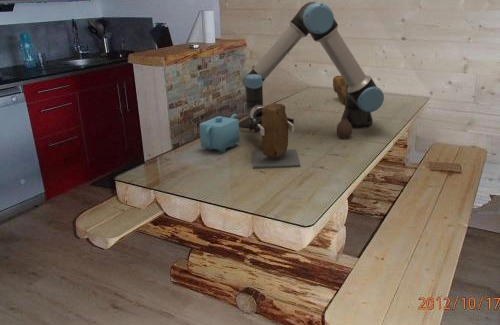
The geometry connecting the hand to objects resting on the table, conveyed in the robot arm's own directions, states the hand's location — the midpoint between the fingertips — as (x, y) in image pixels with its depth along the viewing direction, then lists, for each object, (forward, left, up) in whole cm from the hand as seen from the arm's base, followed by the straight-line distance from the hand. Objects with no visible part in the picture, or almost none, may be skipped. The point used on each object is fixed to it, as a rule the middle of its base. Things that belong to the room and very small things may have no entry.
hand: (278, 130), depth 171 cm
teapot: (+23, -22, -13) cm, 35 cm away
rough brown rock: (-47, -91, -14) cm, 103 cm away
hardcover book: (+7, -53, -14) cm, 56 cm away
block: (+1, -4, -11) cm, 12 cm away
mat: (+1, -4, -13) cm, 14 cm away
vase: (-31, -28, -13) cm, 44 cm away
